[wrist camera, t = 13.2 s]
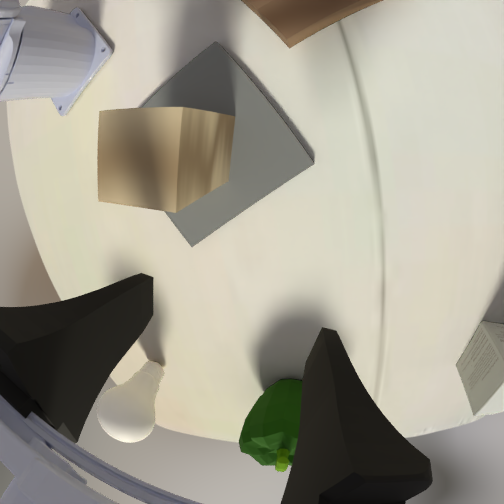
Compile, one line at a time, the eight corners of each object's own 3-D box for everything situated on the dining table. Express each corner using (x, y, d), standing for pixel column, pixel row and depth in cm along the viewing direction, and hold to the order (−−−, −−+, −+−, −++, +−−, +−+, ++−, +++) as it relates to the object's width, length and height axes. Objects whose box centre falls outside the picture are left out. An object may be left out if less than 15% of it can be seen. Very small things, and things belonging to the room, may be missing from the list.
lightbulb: (128, 341, 29) (75, 408, 19) (173, 348, 28) (123, 428, 18) (145, 377, 31) (103, 441, 22) (187, 385, 30) (149, 460, 20)
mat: (117, 139, 20) (113, 139, 19) (218, 43, 15) (215, 41, 15) (194, 244, 22) (191, 247, 22) (314, 163, 18) (314, 163, 17)
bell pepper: (305, 421, 29) (295, 493, 20) (243, 398, 29) (219, 472, 20) (347, 385, 25) (348, 471, 16) (276, 357, 25) (255, 448, 16)
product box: (515, 323, 18) (545, 368, 12) (489, 365, 21) (510, 412, 14) (481, 319, 19) (511, 371, 13) (453, 365, 22) (472, 418, 15)
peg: (174, 113, 18) (99, 111, 10) (235, 116, 17) (182, 106, 10) (170, 174, 20) (98, 201, 12) (228, 181, 19) (176, 213, 12)
